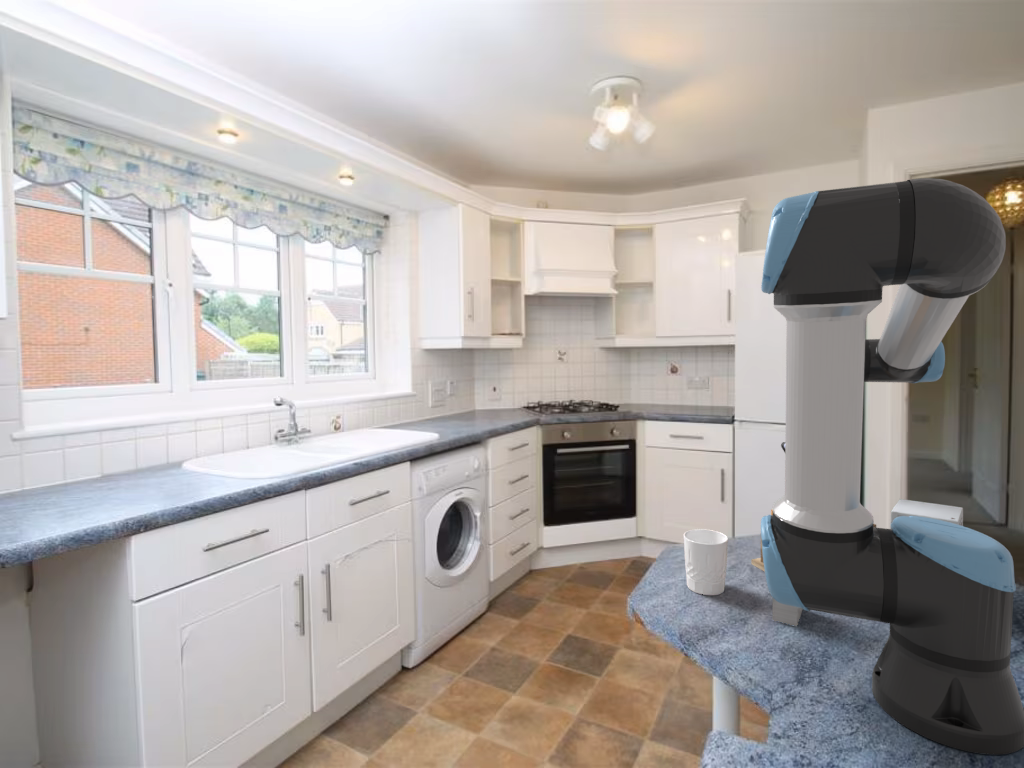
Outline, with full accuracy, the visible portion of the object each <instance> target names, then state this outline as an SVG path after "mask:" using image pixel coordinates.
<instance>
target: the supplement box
mask: <svg viewBox="0 0 1024 768" xmlns="http://www.w3.org/2000/svg"><path fill="white" fill-rule="evenodd" d="M900 516H907V517H909V516H920V517H927V518H933V519H938V520H942V521H946V522H950V523H954V524H957V525H961V526H964V508H963V507H960V506H954V505H949V504H948V505H947V504H941V503H940V504H939V503H935V502H934V503H932V502H924V501H917V500H910V499H905V498H904V499H902V498H899V499H898V501H897V502H896V504H895V505H894V506H893V508H892V510H891V511H890V519H889V521H890V523H889V524H890V526H889V529H891V523H892V522H893V520H894V519H895V518H897V517H900Z"/></svg>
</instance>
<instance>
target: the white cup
mask: <svg viewBox="0 0 1024 768" xmlns="http://www.w3.org/2000/svg"><path fill="white" fill-rule="evenodd" d="M728 542H729V538H728V536H727V535H726V534H724V533H723V532H720V531H717V530H712V529H705V528H695V529H690V530H687V531H685V532H684V533H683V550H684V551H683V552H684V553H683V555H684V563H685V564H684V568H685V573H686V574H685V575H686V576H685V577H686V586H687V587H688V589H689V590H690V591H692V592H693V593H695V594H699V595H702V594H703V595H702V596H717V595H721V594H722V593H724V592H725V590H726V589H725V588H726V577H727V566H728V547H729V543H728Z"/></svg>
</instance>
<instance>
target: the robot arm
mask: <svg viewBox="0 0 1024 768" xmlns="http://www.w3.org/2000/svg"><path fill="white" fill-rule="evenodd" d="M767 233H768V234H767V238H766V239H767V240H766V246H765V251H764V252H765V253H764V261H763V269H762V271H763V272H762V276H761V278H762V280H761V287H760V288H761V292H762V293H765V294H768V295H770V294H773V308H774V309H775V310H776V311H777V312H779V314H780V315H782V316H783V317H784V318H785V320H786V321H785V322H786V340H785V341H786V349H785V350H786V351H785V354H786V356H785V359H786V360H785V361H786V362H785V366H786V367H785V442H781V445H780V447H781V448H782V450H783V452H784V454H785V460H784V465H785V466H784V468H785V469H784V480H785V481H784V495H783V496H781V497H780V498H779V499H778V500H775V502H773V504H772V509H771V510H772V515H771V514H767V515H764V516H763V517H761V520H760V540H761V539H762V552H763V562H764V569H765V572H764V574H765V581H766V585H767V589H768V591H769V593H770V595H771V597H773V598H774V599H775V600H776V601H777V602H779V603H781V604H785V605H789V606H794V607H799V608H803V610H804V611H806V612H810V611H813V612H815V611H816V612H821V613H826V614H833V615H838V616H844V617H850V618H855V619H862V620H868V621H872V622H880V623H885V624H889V634H888V638H887V640H886V641H885V644H884V646H883V648H882V651H881V653H880V654H879V657H878V658H877V661H876V663H875V665H874V667H873V669H872V674H871V676H872V677H871V681H872V682H871V692H872V695H873V697H874V699H875V701H876V703H877V704H878V705H879V706H880V708H881V709H882V710H883V711H885V713H887V715H889V716H890V717H891V718H892V719H893V720H895V721H897V722H898V723H899V724H901V725H902V726H904V727H906V729H909V730H911V731H912V732H914V733H916V734H918V735H920V736H922V737H924V738H927V739H929V740H931V741H933V742H936V743H938V744H942V745H944V746H946V747H950V748H954V749H956V750H957V749H958V750H961V751H964V752H970V753H975V754H981V755H995V756H996V755H1009V754H1012V753H1016V752H1018V751H1020V750H1021V749H1023V748H1024V705H1023V703H1022V699H1021V696H1020V692H1019V689H1018V686H1017V683H1016V681H1015V678H1014V676H1013V673H1012V670H1011V648H1012V631H1013V630H1012V629H1013V613H1014V594H1015V593H1014V592H1016V590H1017V585H1016V583H1015V567H1014V560H1013V556H1012V554H1011V552H1010V550H1008V549H1007V548H1006V547H1005V545H1003V544H1002V543H1001V542H999V541H998V540H996V539H994V538H993V537H991V536H989V535H987V534H984V533H983V532H980V531H977V530H975V529H974V528H973V529H972V528H970V527H966V526H964V525H963V526H961V525H957V524H954V523H950V522H946V521H942V520H938V519H933V518H927V517H920V516H909V517H907V516H900V517H897V518H895V519H894V520H893V522H892V523H891V529H890V528H882V527H877V526H876V527H873V524H875V523H874V516H873V514H872V513H871V512H870V511H869V510H868V509H867V508H866V507H865V506H863V505H862V504H861V481H862V479H861V478H862V477H861V475H862V447H863V445H862V444H863V443H862V442H863V417H864V416H863V414H864V410H863V409H864V387H865V386H864V385H865V383H906V384H907V383H908V384H917V383H929V382H931V383H933V382H937V381H938V380H940V379H941V377H942V376H943V373H944V369H945V365H946V364H945V363H946V354H945V353H946V351H945V346H944V343H943V342H942V341H943V339H944V338H945V336H946V334H947V332H948V330H949V329H950V328H951V326H952V324H953V323H954V321H955V319H956V318H957V316H958V314H959V313H960V311H961V310H962V308H963V306H964V305H965V303H966V302H967V300H968V299H969V297H970V296H971V295H974V294H975V293H977V292H979V291H980V290H982V289H983V288H985V287H986V286H987V285H988V283H990V282H991V280H993V277H994V276H995V275H996V273H997V271H998V269H1000V266H1001V264H1002V262H1003V259H1004V256H1005V252H1006V248H1007V247H1006V246H1007V245H1006V243H1007V242H1006V239H1007V238H1006V231H1005V228H1004V226H1003V223H1002V220H1001V217H1000V215H999V214H998V213H997V211H996V209H994V207H993V206H992V205H991V204H990V203H989V202H988V201H987V200H986V198H984V197H983V196H981V195H980V194H979V193H977V192H976V191H974V190H973V189H971V188H969V187H967V186H965V185H963V184H960V183H957V182H954V181H951V180H947V179H942V178H932V177H929V178H928V177H924V178H922V177H921V178H913V179H907V180H904V181H895V182H888V183H879V184H878V183H877V184H869V185H861V186H852V187H844V188H835V189H834V188H833V189H826V190H824V189H823V190H816V191H815V190H814V191H812V192H808V193H804V194H799V195H794V196H791V197H790V196H789V197H786V198H783V199H782V200H780V201H779V202H778V203H777V204H776V205H775V206H774V208H773V210H772V213H771V217H770V223H769V227H768V232H767ZM894 285H895V286H896V285H897V286H898V285H899V287H898V289H897V292H896V295H895V297H894V300H893V303H892V306H891V308H890V310H889V314H888V316H887V319H886V322H885V323H884V327H883V330H882V333H881V335H880V338H873V339H871V338H868V339H867V338H866V327H867V325H866V322H867V321H866V320H867V317H868V315H869V314H870V313H871V312H872V311H873V310H875V308H877V307H878V306H880V305H881V303H882V302H883V288H884V287H885V286H887V287H888V286H894Z"/></svg>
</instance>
